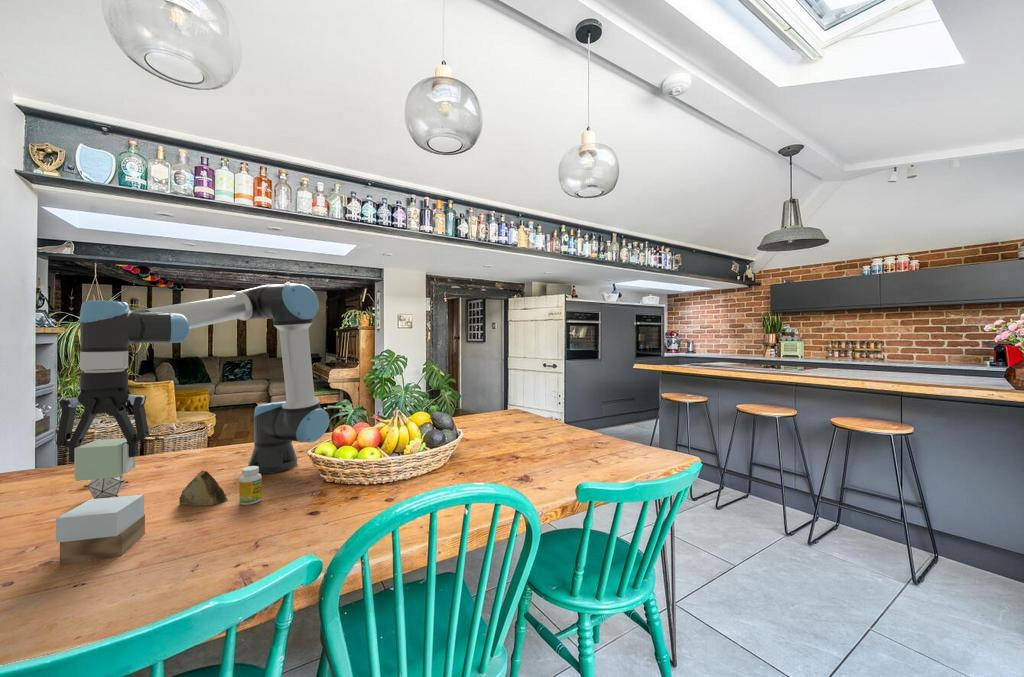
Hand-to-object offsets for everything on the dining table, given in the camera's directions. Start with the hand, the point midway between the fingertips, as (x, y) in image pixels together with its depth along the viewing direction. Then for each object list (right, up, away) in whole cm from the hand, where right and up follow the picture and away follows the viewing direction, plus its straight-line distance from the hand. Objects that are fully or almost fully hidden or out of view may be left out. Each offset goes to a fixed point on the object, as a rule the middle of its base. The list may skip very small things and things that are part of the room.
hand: (104, 473), depth 89 cm
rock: (+3, -17, +24) cm, 30 cm away
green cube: (0, 0, +1) cm, 1 cm away
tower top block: (0, -12, 0) cm, 12 cm away
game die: (-27, -16, +27) cm, 41 cm away
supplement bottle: (+16, -17, +25) cm, 34 cm away
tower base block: (0, -17, 0) cm, 17 cm away
